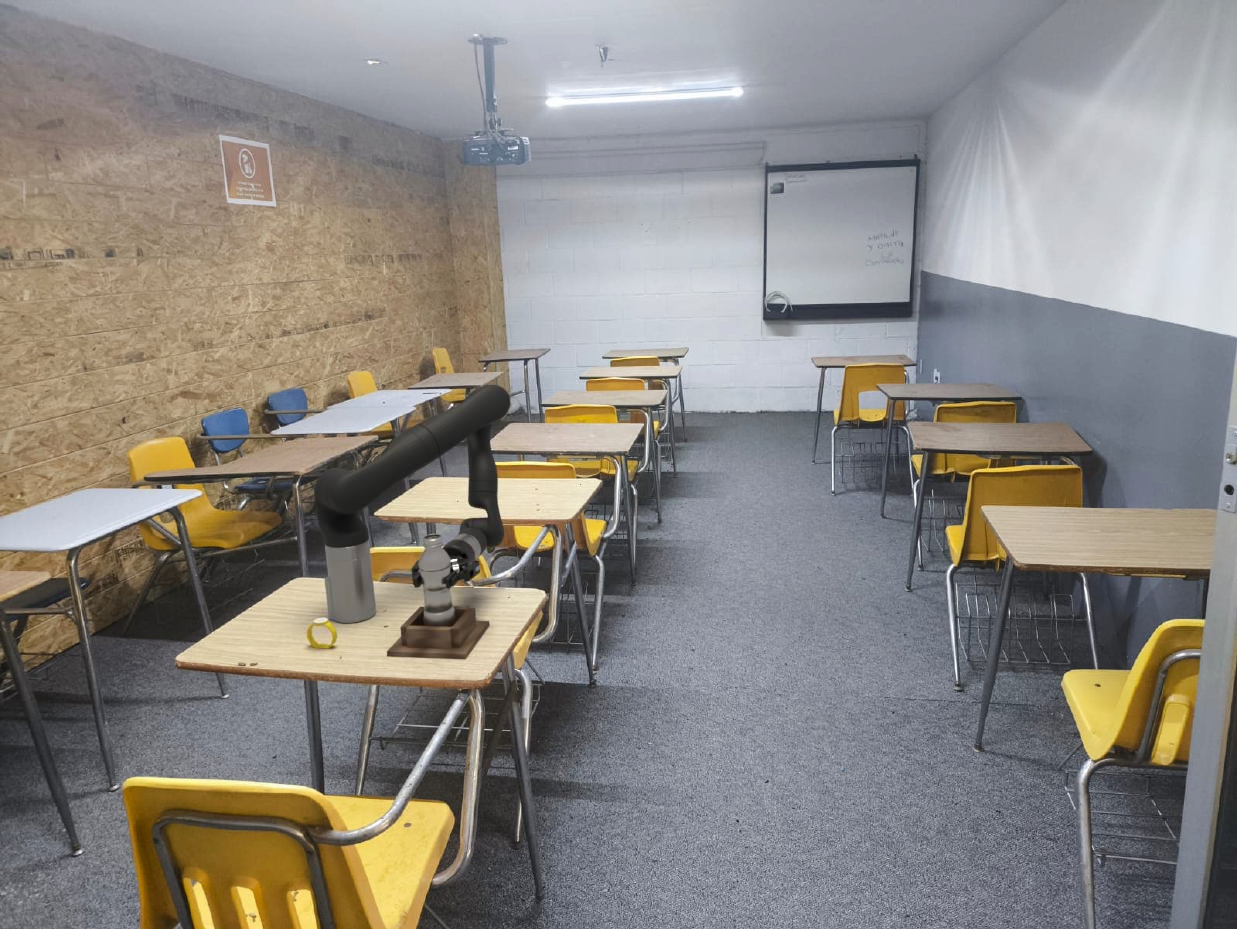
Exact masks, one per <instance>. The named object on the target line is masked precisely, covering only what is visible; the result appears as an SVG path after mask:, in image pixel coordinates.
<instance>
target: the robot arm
mask: <svg viewBox="0 0 1237 929" xmlns="http://www.w3.org/2000/svg"><path fill="white" fill-rule="evenodd" d="M510 406H511V397H510V394H509V393H508V391H507V390H506V389H505V388H504V387H502V386H500V385H498V384H486V385H482V386H480V387H479V388H476V389H474V390H472V391H471V392H469V393H468V394H467V395H466V396H465V398H464V401H463V402H461V403H459V404H458V405H456V406H454V407H452V408H450V409H448V410H445V411H443V412H440V413H438V414H435V415H433V416H430V417H428V418H426V419H424V420H422V421H421V422H418V423H416V424H414V425H413V426H411V427H410V428H408V429H406V430H404V431H403V432H401V433H400V434H398V435H397V436H396V437H395V438H394V439H393V440H392V442H390V444H389V445H388V447H387V448H386V449H385V451H384V452H383V453H382V454H381V455H380V456H379V457H377V458H376V459H374V460H373V461H371V462H369V463H367V464H365V465H364V466H361V467H358V468H357V469H353V470H348V469H344V468H339V467H332V468H329V469H326V470H324V471H323V472H322V473H321V474H319V475H318V477H317V479H316V482H315V485H314V491H313V492H314V503H315V510H316V515H317V516H316V517H317V522H318V523H317V524H318V528H319V530H320V533H321V534H322V538H323V541H324V547H325V548H324V549H325V558H326V569H327V576H326V577H325V578H324V587H325V595H326V605H327V613H328V621H329V620H331V621H332V620H333V621H335V622H337V623H341V624H345V623H346V624H352V623H358V622H362V621H363V622H364V621H366V620H368V619H371V618H372V617H374V616H375V615H376V613H377V607H376V606H377V605H376V603H377V602H376V597H375V586H374V577H373V576H374V575H373V566H372V565H373V564H372V554H371V546H370V545H371V544H370V537H369V529H368V527H367V525H366V524H365V523H364V521H363V520H362V518H361V517H360V514H359V512H361V511H362V510H364V509H366V507H368V506H370V504H372V503H373V502H375V500H376V499H378V498H379V497H381V496H382V495H384V493H385V492H387V491H388V490H389V489H391V488H392V487H394V486H395V485H397V484H398V483H400V482H402V481H403V480H405V479H407V478H408V477H410V476H411V475H413V474H415V473H416V472H418V471H419V470H421V469H423V468H425V467H426V466H428V465H429V464H431V463H432V462H434V461H436V460H437V459H439V458H440V457H442V456H443V455H445V454H446V453H448V452H450V451H451V450H452V449H453V448H455V447H456V446H457V445H459V444H460V443H461V442H462V441H463V440H465V439H466V443H467V444H466V445H467V454H468V490H467V491H468V492H467V493H468V494H467V501H468V505H469V506H470V507H472V508H474V509H480V510H484V511H485V512H486V517H469V518H466V519H464V520H463V521H462V522H461V523H460V525H459V532H458V534H457V535H455V536H454V537H453V538H451V539H450V540H449V541H448V542H446V544H444V546H443V547H442V548H443V549H444V550H445V551H446V552H447V554H448V555H449V557H450V560H451V565H450V574H449V576H448V577H447V578H446V588H450V589H452V587H454V586H456V585H457V584H459V583H460V582H461V581H464V583H465V582H470V581H472V580H473V579H474V578H475V577H476V576H478V575H479V574H480V573H481V568H480V567H481V565H480V561H479V560H478V559H479V558H480V557H481V556H482V554H484V552H485V551H486V549H487V547H488V548H490V547H491V548H492V547H497V546H499V545H501V544H502V542H503V540H504V537H505V528H504V523H503V520H502V516H501V513H500V509H499V508H500V506H499V502H498V501H499V500H498V499H499V498H498V492H499V490H498V489H499V488H498V487H499V477H498V476H499V475H498V468H497V464H496V461H495V458H494V455H493V452H492V447H491V446H492V445H491V431H492V426H493V424H494V423H496V422H498V421H501V420H502V419H503V418H505V416H506V415H507V414H508V412H509V410H510ZM418 563H419V559H418V560H416V561H415V563H414V564H413V566H412V567H411V568H410V570H411V578H412V584H413V586H414V587H413V588H415V589H417V588H418V589H420V587H421V586H423V583H422V578H421V574H420V570H419V565H418Z"/></svg>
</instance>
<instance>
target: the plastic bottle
mask: <svg viewBox="0 0 1237 929" xmlns="http://www.w3.org/2000/svg"><path fill="white" fill-rule="evenodd" d="M422 539H423V540H422V541H423V545H422V546H423V548H424V550H423V551H422V553H421V555H420V557H419V559H418V560H419V563H418V565H419V570H420V574H421V578H422V583H423V584H422V587H423V588H422V589H423V594H424V595H423V596H424V598H423V601H424V603H423V605H424V606H423V607H424V618H423V621H424V624H425V626H436V627H453V626H454V624H455V618H456V615H455V610H454V607H453V606H454V604H453V598H452V593H451V588H446V578H447V577H448V576H449V574H450V565H451V560H450V557H449V555H448V554H447V552H446V551H445V550H444V549H443V547H442V546H443V545H444V542H443V536H442V534H439V533H430V534H427V535H424V536H423V537H422Z"/></svg>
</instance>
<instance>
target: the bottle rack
mask: <svg viewBox="0 0 1237 929" xmlns="http://www.w3.org/2000/svg"><path fill="white" fill-rule="evenodd" d="M453 607H454V610H455V615H456V618H455V624H454V626H453V627H436V626H425V624H424V621H423V618H424V606H419V607H418V608H417V609H416V610H415V611H414V612H413V614H411V615H410V617H408V619H407V620H405V622H403V624H402V625H400V627H399V628H400V637H399V638H398V639H397V640H396V641H395V642H394V643H393V644H392V645H391V646H390V647H389V648H388V649H387V651H386V656H387V657H399V658H400V657H402V658H404V657H406V658H425V659H426V658H428V659H429V658H430V659H431V658H432V659H456V660H457V659H458V660H467V657H469V655H470V653H471V652H472V650H474V647H476V645H477V643H478V642H479V641H480V639H481V638H482V636H484V634H485V632H486V631H487V629H488V628H489V627H490V624H491V623H490V620H477V618H476V617H477V616H476V608H475V607H470V606H467V605H466V606H464V605H462V606H460V605H453Z"/></svg>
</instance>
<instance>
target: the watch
mask: <svg viewBox="0 0 1237 929" xmlns="http://www.w3.org/2000/svg"><path fill="white" fill-rule="evenodd" d="M312 621H313V622H312V623H311V624H310V625H309V626H308V628H307V629H306V638H307V641H308V642H309V644H310V645H311V646H312V647H314V648H315V649H327V650H328V649H330V648H331V647H333V646H334V645H335V644H336V643H337V639H338V632H337V628H335V626H334V625H333V624H332V622H330V621H329V618H328V617H318V618H315V619H314V620H312ZM314 626H316V627H322V626H324V627H327V629H328V630H329V632H330V633H331V638H332V640H331V643H330V644H328V643H327V644H322V643H319V642H318V641H316V640H315V638H314V636H313V631H312V630H313V627H314Z"/></svg>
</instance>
